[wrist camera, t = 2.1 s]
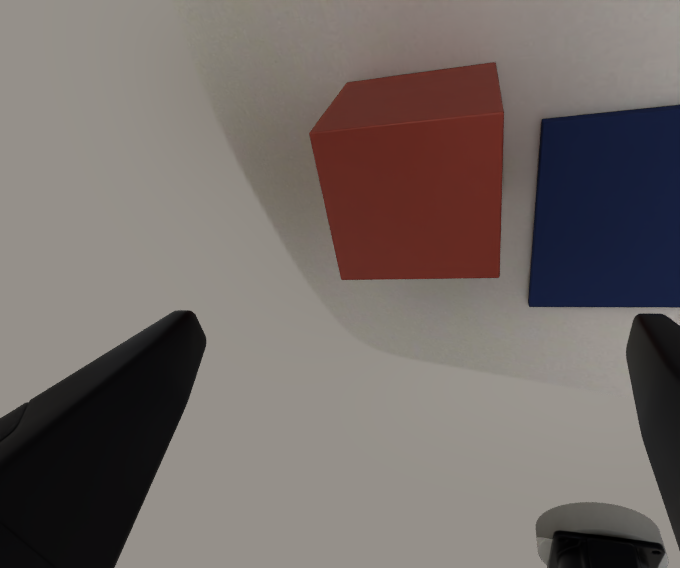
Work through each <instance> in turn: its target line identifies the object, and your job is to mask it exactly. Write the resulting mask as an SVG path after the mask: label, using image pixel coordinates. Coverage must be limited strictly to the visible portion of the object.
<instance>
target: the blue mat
mask: <svg viewBox="0 0 680 568" xmlns="http://www.w3.org/2000/svg"><path fill="white" fill-rule="evenodd" d="M528 303H529V307H680V105H676V106H666V107H656V108H646V109H636V110H627V111H617V112H607V113H597V114H587V115H577V116H568V117H558V118H548V119H542V122H541V136H540V149H539V163H538V176H537V190H536V203H535V217H534V230H533V244H532V257H531V271H530V284H529V298H528Z"/></svg>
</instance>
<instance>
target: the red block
mask: <svg viewBox="0 0 680 568" xmlns="http://www.w3.org/2000/svg"><path fill="white" fill-rule="evenodd" d="M503 130H504V110H503V104H502V98H501V92H500V86H499V80H498V74H497V68H496V63H495V62H493V63H485V64H478V65H471V66H463V67H456V68H449V69H442V70H434V71H427V72H420V73H413V74H405V75H398V76H391V77H383V78H376V79H369V80H362V81H354V82H347V83H346V85H345V86H344V87H343V89H342V90H341V91H340V93H339V94H338V95H337V97H336V98H335V99H334V101H333V102H332V103H331V105H330V106H329V107H328V109H327V110H326V111H325V113H324V114H323V115H322V117H321V118H320V119H319V121H318V122H317V123H316V125H315V126H314V127H313V129H312V130H311V131H310V133H309V135H310V140H311V144H312V149H313V153H314V158H315V162H316V167H317V172H318V176H319V181H320V185H321V190H322V194H323V199H324V203H325V208H326V212H327V217H328V221H329V226H330V230H331V235H332V240H333V244H334V249H335V253H336V258H337V262H338V267H339V271H340V276H341V279H342V280H373V279H448V278H499V276H500V242H501V205H502V167H503Z"/></svg>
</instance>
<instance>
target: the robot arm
mask: <svg viewBox="0 0 680 568" xmlns="http://www.w3.org/2000/svg"><path fill="white" fill-rule="evenodd" d="M205 347H206V336H205V334H204V332H203V330H202V328H201V325H200V324H199V321H198V319H197V317H196V315H195V314H194V313H193V312H192V311H182V310H181V311H174V312H172V313H170V314H169V315H167V316H166V317H164V318H162V319H161V320H159V321H158V322H156V323H154V324H153V325H151V326H149V327H148V328H146V329H144V330H143V331H141V332H140V333H138V334H136V335H135V336H133V337H131V338H130V339H128V340H127V341H125V342H123V343H122V344H120V345H119V346H117V347H115V348H114V349H112V350H110V351H109V352H107V353H106V354H104V355H102V356H101V357H99V358H98V359H96V360H94V361H93V362H91V363H90V364H88V365H86V366H85V367H83V368H81V369H80V370H78V371H77V372H75V373H73V374H72V375H70V376H68V377H67V378H65V379H64V380H62V381H60V382H59V383H57V384H56V385H54V386H52V387H51V388H49V389H47V390H46V391H44V392H42V393H41V394H39V395H38V396H36V397H35V398H33V399H31V400H30V401H29V403H24V404H23V405H21V406H20V407H18V408H16V409H15V410H13V411H12V412H10V413H8V414H7V415H5V416H3V417H2V418H0V568H114V567H115V565H116V563H117V561H118V558H119V556H120V554H121V552H122V549H123V547H124V545H125V542H126V540H127V538H128V536H129V533H130V531H131V529H132V527H133V524H134V522H135V520H136V518H137V515H138V513H139V511H140V509H141V506H142V504H143V502H144V500H145V497H146V495H147V493H148V491H149V488H150V486H151V484H152V482H153V479H154V477H155V475H156V472H157V470H158V468H159V466H160V464H161V461H162V459H163V457H164V454H165V452H166V450H167V448H168V446H169V443H170V441H171V439H172V436H173V434H174V432H175V430H176V428H177V425H178V423H179V421H180V419H181V416H182V414H183V412H184V409H185V407H186V404H187V402H188V399H189V396H190V393H191V390H192V387H193V384H194V381H195V378H196V375H197V372H198V368H199V366H200V363H201V359H202V357H203V353H204V350H205ZM626 358H627V364H628V369H629V374H630V379H631V384H632V389H633V395H634V400H635V404H636V410H637V414H638V420H639V425H640V430H641V434H642V438H643V441H644V445H645V448H646V451H647V454H648V457H649V460H650V463H651V466H652V469H653V472H654V475H655V478H656V481H657V484H658V487H659V490H660V493H661V495H662V499H663V502H664V505H665V508H666V510H667V514H668V517H669V520H670V523H671V526H672V529H673V532H674V534H675V537H676V541H677V544H678V547H679V550H680V326H679V325H678V324H677V323H675V322H674V321H672V320H671V319H670V318H668V317H667V316H665V315H663V314H638V315H636V316H635V318H634V320H633V323H632V327H631V331H630V335H629V339H628V343H627V348H626ZM664 555H665V551H664V547H663V545H662V544H660V543H657V542H649V541H641V540H634V539H626V538H618V537H610V536H602V535H594V534H586V533H578V532H571V531H563V530H558V531H555V532H554V533H553V538H552V544H551V549H550V555H549V560H548V566H547V568H658V567H659V565H660V563H661V561H662V559H663V557H664Z"/></svg>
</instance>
